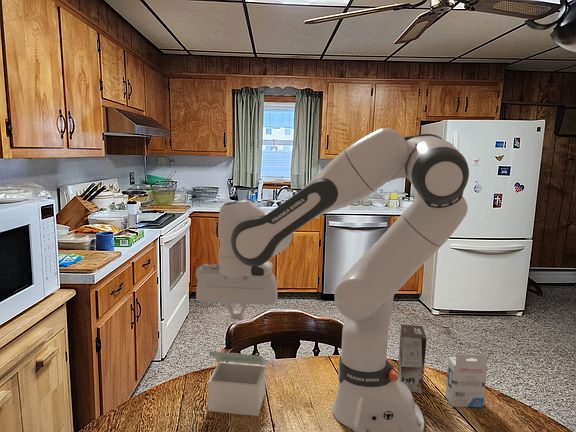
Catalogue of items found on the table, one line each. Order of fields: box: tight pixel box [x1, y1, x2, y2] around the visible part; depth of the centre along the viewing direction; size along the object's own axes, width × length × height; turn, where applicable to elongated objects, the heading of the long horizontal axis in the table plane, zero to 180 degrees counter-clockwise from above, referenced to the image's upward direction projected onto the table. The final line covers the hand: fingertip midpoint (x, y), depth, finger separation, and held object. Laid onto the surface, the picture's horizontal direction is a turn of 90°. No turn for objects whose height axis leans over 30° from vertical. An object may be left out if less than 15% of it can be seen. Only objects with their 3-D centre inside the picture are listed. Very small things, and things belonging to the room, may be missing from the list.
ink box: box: [444, 354, 488, 408], centre depth 107 cm, size 8×5×15 cm, turn 89°
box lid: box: [209, 351, 267, 366], centre depth 105 cm, size 13×10×1 cm
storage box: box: [207, 361, 267, 417], centre depth 105 cm, size 13×10×8 cm
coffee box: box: [397, 324, 428, 394], centre depth 115 cm, size 9×6×16 cm
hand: (237, 319), depth 101 cm, fingers closed
